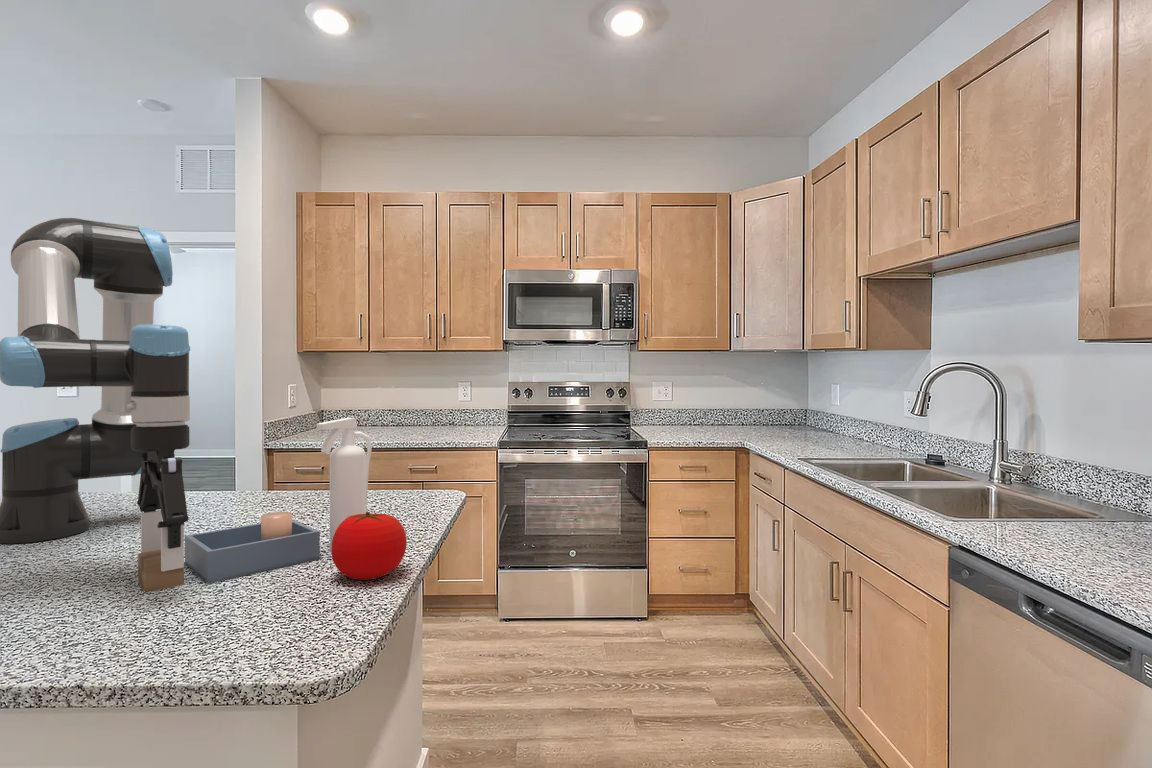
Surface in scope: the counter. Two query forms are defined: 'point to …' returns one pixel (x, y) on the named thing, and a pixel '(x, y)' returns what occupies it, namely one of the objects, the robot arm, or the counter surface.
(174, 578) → the walnut cube
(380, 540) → the tomato
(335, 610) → the counter surface
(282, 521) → the peach rounded cylinder
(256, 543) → the tote
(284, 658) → the counter surface
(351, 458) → the white spray bottle
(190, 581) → the counter surface
